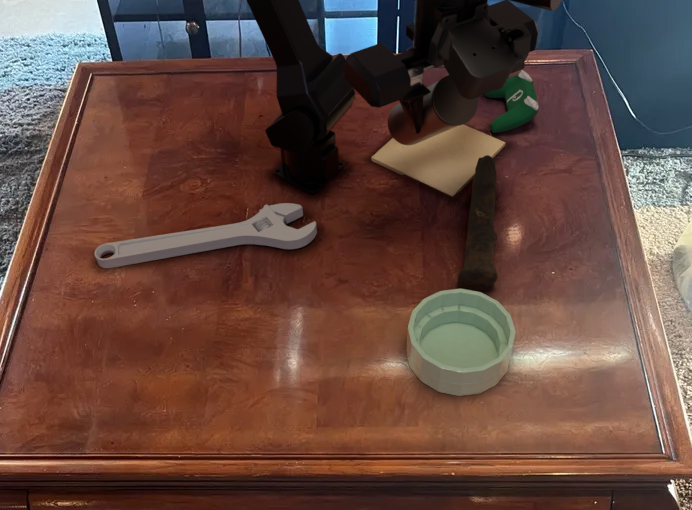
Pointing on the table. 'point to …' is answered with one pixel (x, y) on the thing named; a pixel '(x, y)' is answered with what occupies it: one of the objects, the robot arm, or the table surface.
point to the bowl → (460, 341)
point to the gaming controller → (515, 102)
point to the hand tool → (481, 230)
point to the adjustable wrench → (214, 238)
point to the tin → (433, 113)
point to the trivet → (440, 157)
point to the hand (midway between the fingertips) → (436, 123)
